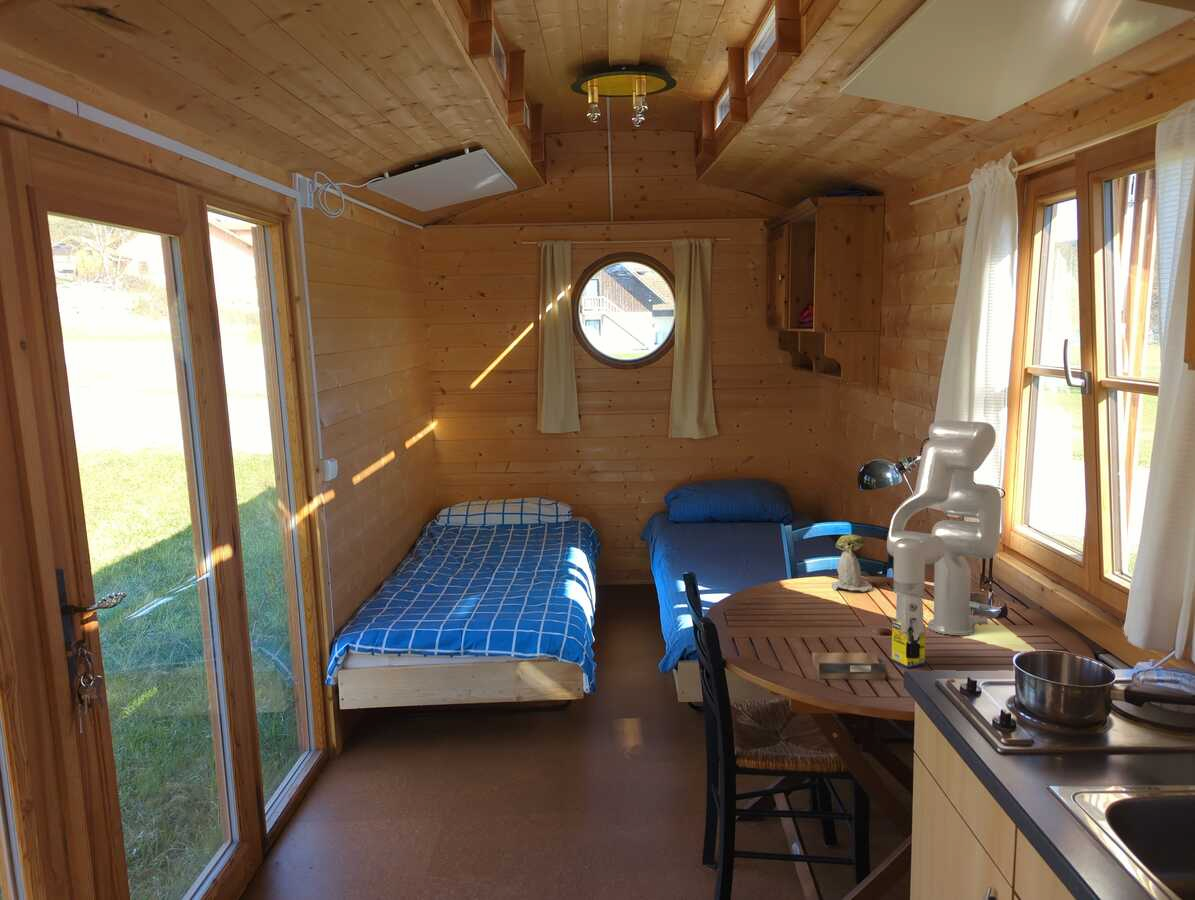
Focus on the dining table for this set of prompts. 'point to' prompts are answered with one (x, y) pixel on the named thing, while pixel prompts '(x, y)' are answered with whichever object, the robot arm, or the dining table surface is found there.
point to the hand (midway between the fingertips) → (908, 650)
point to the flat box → (848, 666)
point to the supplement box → (900, 647)
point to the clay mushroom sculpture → (850, 565)
